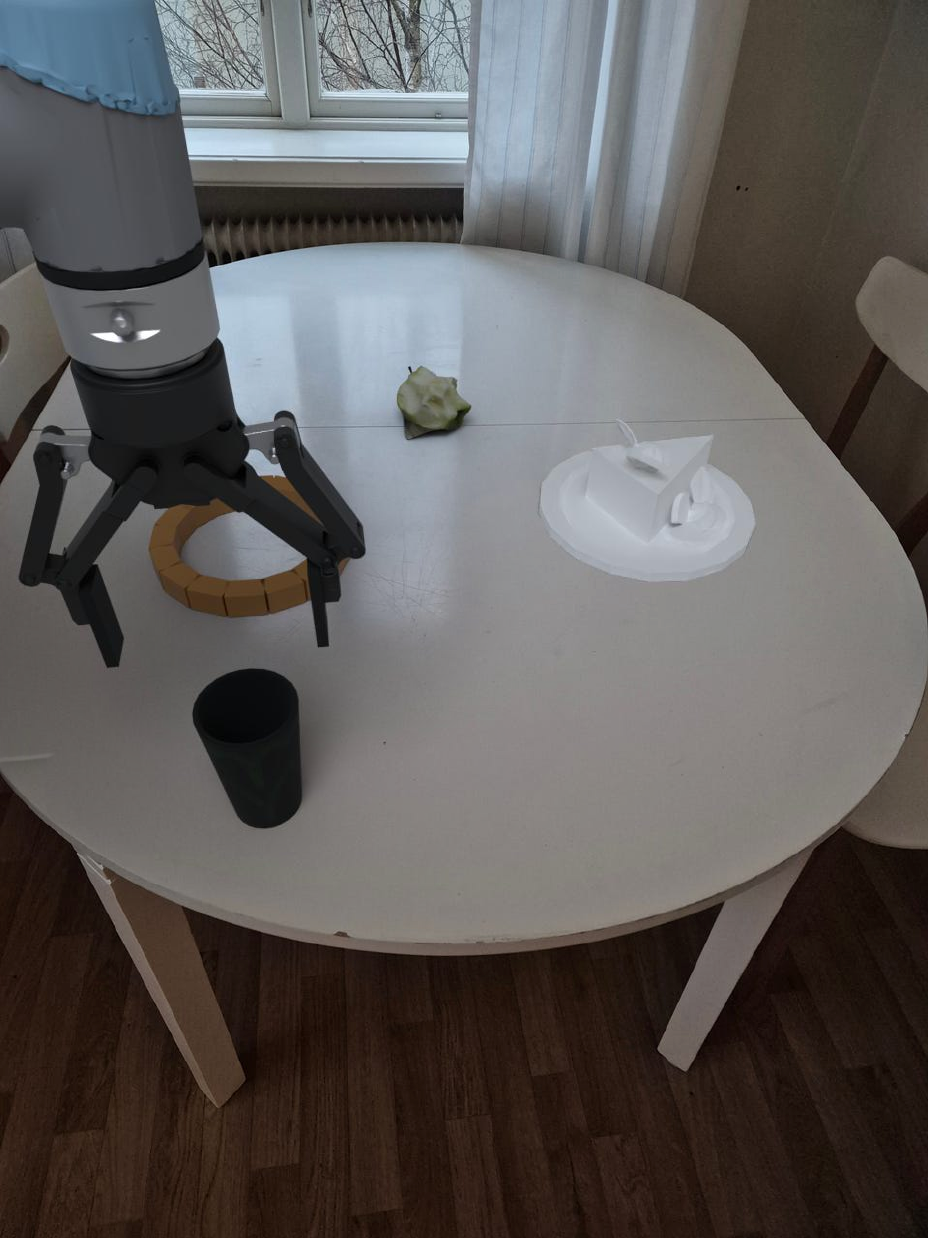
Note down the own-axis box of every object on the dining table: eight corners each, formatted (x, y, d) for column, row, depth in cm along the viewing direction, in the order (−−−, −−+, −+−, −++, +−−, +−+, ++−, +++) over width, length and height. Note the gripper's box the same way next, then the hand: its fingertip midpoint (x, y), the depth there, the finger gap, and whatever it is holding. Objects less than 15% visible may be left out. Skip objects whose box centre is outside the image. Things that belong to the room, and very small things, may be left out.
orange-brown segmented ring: (142, 623, 86) (135, 602, 84) (169, 499, 101) (163, 480, 99) (352, 609, 88) (350, 589, 86) (348, 490, 103) (346, 471, 101)
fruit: (391, 420, 118) (393, 361, 113) (458, 420, 119) (462, 362, 115) (401, 444, 110) (403, 382, 106) (472, 444, 112) (477, 383, 108)
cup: (333, 787, 72) (319, 692, 64) (274, 856, 68) (251, 763, 59) (262, 748, 75) (240, 653, 67) (201, 812, 70) (169, 718, 62)
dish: (636, 612, 89) (656, 525, 81) (497, 492, 104) (502, 408, 96) (797, 533, 99) (828, 449, 91) (649, 434, 114) (665, 354, 106)
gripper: (-149, 397, 39) (13, 704, 54) (401, 366, 42) (411, 664, 57) (-97, 324, 44) (37, 621, 59) (387, 301, 47) (400, 589, 62)
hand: (220, 643), depth 58 cm, fingers open, 13 cm apart
